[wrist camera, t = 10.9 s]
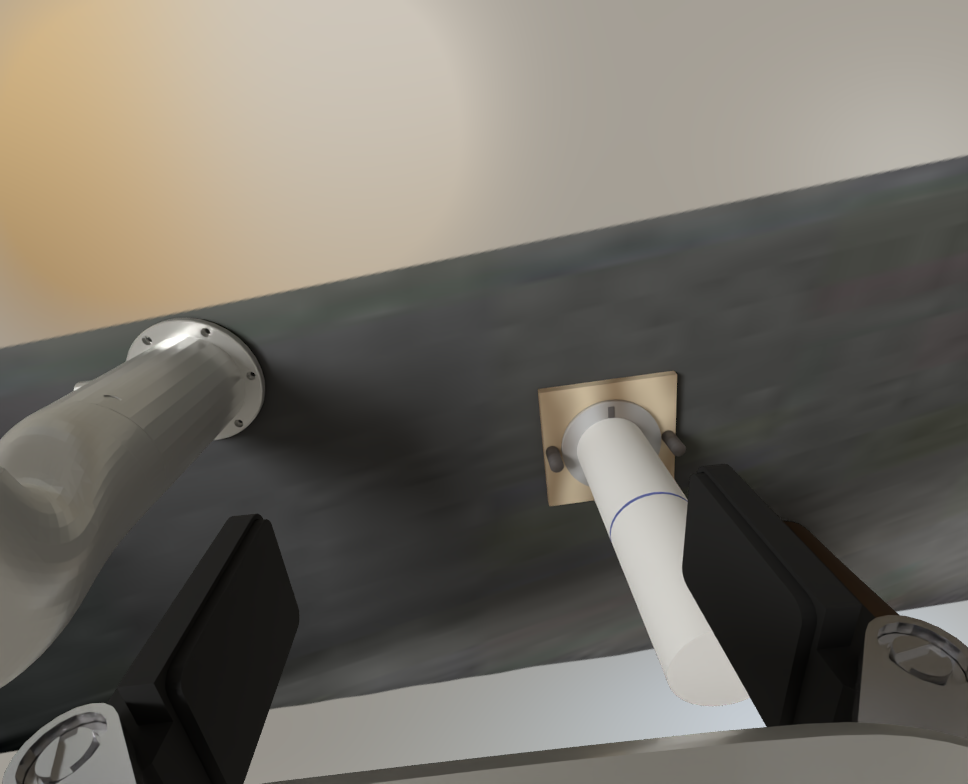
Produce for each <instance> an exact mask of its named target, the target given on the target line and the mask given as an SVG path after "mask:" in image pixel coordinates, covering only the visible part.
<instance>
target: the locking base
mask: <svg viewBox="0 0 968 784" xmlns="http://www.w3.org/2000/svg"><path fill="white" fill-rule="evenodd" d="M538 397H539V408H540V419H541V430H542V440H543V451H544V462H545V472H546V483H547V494H548V502H549V506H556V505H563V504H571V503H578V502H585V501H593V500H595V499H594V497H593V494H592V492H591V489H590V487H589V484H588V482H587V479H586V477H585V474H584V472H583V469H582V467H581V464H580V462H579V459H578V456H577V446H578V443H579V440H580V438H581V436H582V435H583V433H584V432H585V431H586V430H587V429H588V428H589V427H590V426H592V425H593V424H595V423H597V422H599V421H601V420H604V419H608V418H623V419H626V420H629V421H631V422H633V423H634V424H636V425H637V426H638V427H639V428H640V430H641V431H642V433H643V434H644V436H645V437H646V439H647V440H648V441H649V443H650V444H651V446H652V447H653V449H654V450H655V452H656V453H657V455H658V456H659V458H660V459H661V461H662V462H663V464H664V465H665V467H666V468H667V470H668V471H669V473H670V474H671V476H672V477H673V479H674V466H675V456H682V455H683V454H684V453H685V452H686V447H685V445H684V444H683V443H682V442H681V441H680V439H679V438H678V437H677V436H676V435H675V432H676V398H677V374H676V373H675V372H674V371H668V372H660V373H653V374H646V375H638V376H631V377H624V378H616V379H609V380H602V381H594V382H587V383H580V384H572V385H565V386H558V387H550V388H543V389H538Z"/></svg>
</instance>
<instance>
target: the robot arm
mask: <svg viewBox="0 0 968 784" xmlns="http://www.w3.org/2000/svg"><path fill="white" fill-rule="evenodd" d="M207 329H208V330H209V331H210V332H209V331H208V330H207ZM252 372H253V373H254V374H255V375H254V374H253V373H252ZM264 397H265V379H264V376H263V372H262V369H261V367H260V365H259V363H258V361H257V359H256V357H255V355H254V354H253V353H252V351H251V350H250V349H249V347H248V346H247V345H246V344H245V343H244V342H243V341H242V340H241V339H240V338H238V337H237V336H236V335H234V334H233V333H231V332H230V331H229V330H227V329H225V328H223V327H221V326H219V325H217V324H215V323H212V322H208V321H205V320H202V319H195V318H173V319H169V320H165V321H162V322H160V323H158V324H155V325H153V326H151V327H150V328H148V329H147V330H145V331H143V332H142V333H141V334H140V335H139V336H138V337H137V338H136V339H135V340H134V342H133V344H132V346H131V347H130V349H129V352H128V356H127V359H126V362H125V363H123V364H121V365H119V366H118V367H116V368H114V369H112V370H110V371H109V372H107V373H105V374H103V375H101V376H100V377H98V378H96V379H94V380H89V381H82V382H78V383H77V384H76V385H75V387H74V391H73V392H71V393H69V394H68V395H66V396H64V397H62V398H61V399H59V400H57V401H55V402H53V403H52V404H50V405H48V406H46V407H44V408H42V409H40V410H38V411H36V412H35V413H33V414H31V415H29V416H28V417H26V418H25V419H23V420H22V421H20V422H19V423H17V424H16V425H15V426H14V427H13V428H11V429H10V430H9V431H8V432H7V433H6V434H5V435H4V436H3V437H2V438H1V440H0V688H1V687H3V686H4V685H6V684H7V683H9V682H10V681H11V680H13V679H14V678H15V677H17V676H18V675H19V674H21V673H22V672H23V671H24V670H26V669H27V668H28V667H29V666H30V665H31V664H32V663H33V662H34V661H35V660H36V659H38V658H39V657H40V656H41V655H42V654H43V653H44V652H45V650H46V649H47V648H48V647H49V646H50V645H51V644H52V643H53V641H54V640H55V639H56V638H57V637H58V635H59V634H60V633H61V632H62V631H63V629H64V628H65V627H66V625H67V624H68V623H69V621H70V620H71V618H72V617H73V615H74V614H75V612H76V611H77V609H78V608H79V606H80V604H81V603H82V601H83V599H84V598H85V596H86V594H87V592H88V591H89V589H90V587H91V585H92V584H93V582H94V580H95V578H96V577H97V575H98V573H99V572H100V570H101V568H102V567H103V565H104V564H105V562H106V561H107V559H108V558H109V556H110V555H111V554H112V552H113V551H114V549H115V548H116V547H117V545H118V544H119V543H120V542H121V540H122V539H123V538H124V537H125V535H126V534H127V533H128V532H129V531H130V530H131V529H132V527H133V526H134V525H135V524H136V523H137V522H138V521H139V520H140V518H141V517H142V516H143V515H144V514H145V513H146V512H147V511H148V510H149V509H150V508H151V506H152V505H153V504H154V503H155V502H156V501H157V500H158V499H159V498H160V497H161V496H162V495H163V494H164V493H165V492H166V490H167V489H168V488H169V487H170V486H171V485H172V484H173V483H174V482H175V481H176V480H177V479H178V478H179V476H180V475H181V474H182V473H183V472H184V471H185V470H186V469H187V468H188V467H189V466H190V465H191V464H192V462H193V461H194V460H195V459H196V458H197V457H198V456H199V455H200V454H201V453H202V452H203V451H204V449H205V448H206V447H207V446H208V445H209V444H210V443H211V442H212V441H213V440H220V439H224V438H228V437H231V436H233V435H235V434H238V433H239V432H241V431H242V430H244V429H245V428H246V427H248V426H249V425H250V423H251V422H252V421H253V420H254V419H255V418H256V416H257V415H258V413H259V412H260V410H261V407H262V405H263V402H264ZM682 573H683V578H684V581H685V583H686V585H687V587H688V589H689V591H690V592H691V594H692V596H693V598H694V600H695V601H696V603H697V605H698V607H699V608H700V610H701V612H702V614H703V615H704V617H705V619H706V621H707V622H708V624H709V626H710V628H711V630H712V631H713V633H714V635H715V637H716V638H717V640H718V642H719V644H720V645H721V647H722V649H723V651H724V652H725V654H726V656H727V658H728V659H729V661H730V663H731V665H732V667H733V668H734V670H735V672H736V674H737V675H738V677H739V679H740V681H741V682H742V684H743V686H744V688H745V689H746V691H747V693H748V695H749V697H750V698H751V700H752V702H753V704H754V705H755V707H756V709H757V710H758V712H759V714H760V716H761V718H762V719H763V721H764V723H765V725H766V726H767V727H764V728H752V729H741V730H729V731H718V732H709V733H700V734H690V735H682V736H672V737H662V738H653V739H644V740H635V741H625V742H616V743H606V744H597V745H588V746H579V747H570V748H561V749H552V750H544V751H534V752H526V753H517V754H508V755H500V756H490V757H482V758H473V759H465V760H455V761H447V762H438V763H429V764H420V765H412V766H404V767H396V768H387V769H379V770H370V771H362V772H353V773H345V774H337V775H328V776H321V777H312V778H303V779H295V780H287V781H279V782H271V783H264V784H968V647H967V646H966V645H964V644H963V643H962V642H961V641H960V640H958V639H957V638H956V637H954V636H952V635H951V634H949V633H947V632H946V631H944V630H942V629H941V628H939V627H937V626H934V625H932V624H929V623H927V622H925V621H922V620H918V619H915V618H911V617H907V616H899V615H886V616H881V617H877V618H876V617H875V616H874V615H873V614H872V613H871V612H870V611H869V610H868V609H867V608H866V607H865V606H864V605H863V604H862V603H861V602H860V601H859V600H858V599H857V598H856V596H855V595H854V594H853V593H852V592H851V591H850V590H849V589H848V588H847V587H846V586H845V585H844V584H843V583H842V582H841V581H840V580H839V579H838V578H837V577H836V576H835V574H834V573H833V572H832V571H831V570H830V569H829V568H828V567H827V566H826V565H825V564H824V563H823V562H822V561H821V560H820V559H819V558H818V557H817V556H816V555H815V554H814V552H813V551H812V550H811V549H810V548H809V547H808V546H807V545H806V544H805V543H804V542H803V541H802V540H801V539H800V538H799V537H798V536H797V535H796V534H795V533H794V531H793V530H792V529H791V528H790V527H789V526H788V525H786V524H785V523H784V522H783V521H782V520H781V519H780V518H779V517H778V516H777V515H776V514H775V513H774V512H773V511H772V510H771V509H770V508H769V507H768V506H767V505H766V504H765V502H764V501H763V500H762V499H761V498H760V497H759V496H758V495H757V494H756V493H755V492H754V491H753V490H752V489H751V488H750V487H749V486H748V485H747V484H746V482H745V481H744V480H743V479H742V478H741V477H740V476H739V475H738V474H737V473H736V472H735V471H734V470H733V469H732V468H731V467H730V466H729V465H727V464H721V465H711V466H702V467H700V468H699V469H698V471H697V474H692V475H691V477H690V482H689V493H688V504H687V516H686V527H685V538H684V550H683V561H682ZM298 625H299V609H298V606H297V603H296V599H295V596H294V593H293V590H292V587H291V584H290V581H289V577H288V574H287V571H286V568H285V565H284V562H283V559H282V556H281V552H280V549H279V546H278V543H277V540H276V537H275V534H274V531H273V527H272V524H271V522H270V521H269V520H267V519H266V520H263V518H262V517H261V515H259V514H250V515H241V516H232V517H230V518H229V519H228V520H227V521H226V523H225V524H224V526H223V527H222V529H221V530H220V532H219V533H218V535H217V537H216V538H215V540H214V541H213V543H212V544H211V546H210V547H209V549H208V550H207V552H206V553H205V555H204V556H203V558H202V559H201V561H200V562H199V564H198V565H197V567H196V568H195V570H194V571H193V573H192V574H191V576H190V577H189V579H188V580H187V582H186V583H185V585H184V586H183V588H182V589H181V591H180V592H179V594H178V595H177V597H176V598H175V600H174V601H173V603H172V604H171V606H170V608H169V609H168V611H167V612H166V614H165V615H164V617H163V618H162V620H161V621H160V623H159V624H158V626H157V627H156V629H155V630H154V632H153V633H152V635H151V636H150V638H149V639H148V641H147V642H146V644H145V645H144V647H143V648H142V650H141V651H140V653H139V654H138V656H137V657H136V659H135V660H134V662H133V663H132V665H131V666H130V668H129V669H128V671H127V672H126V674H125V675H124V677H123V679H122V680H121V682H120V683H119V685H118V686H117V689H116V690H115V692H114V693H113V695H112V696H111V698H110V699H109V701H108V702H107V704H105V703H91V704H87V705H84V706H81V707H77V708H74V709H72V710H70V711H68V712H66V713H64V714H62V715H60V716H58V717H57V718H55V719H54V720H52V721H51V722H49V723H48V724H47V725H45V726H44V727H42V728H41V729H40V730H39V731H37V732H36V733H35V734H34V735H33V736H32V737H31V738H30V739H29V740H27V741H26V742H25V743H24V745H23V746H22V747H21V748H20V749H19V751H18V752H17V753H16V754H15V756H14V757H13V758H12V760H11V762H10V763H9V765H8V767H7V769H6V771H5V773H4V776H3V781H2V784H243V783H244V780H245V778H246V775H247V772H248V769H249V766H250V763H251V760H252V758H253V755H254V752H255V749H256V746H257V743H258V740H259V737H260V735H261V732H262V729H263V726H264V723H265V720H266V717H267V714H268V712H269V709H270V706H271V703H272V700H273V697H274V694H275V692H276V689H277V686H278V683H279V680H280V677H281V674H282V671H283V669H284V666H285V663H286V660H287V657H288V654H289V651H290V648H291V646H292V643H293V640H294V637H295V634H296V631H297V628H298Z"/></svg>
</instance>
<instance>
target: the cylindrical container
mask: <svg viewBox="0 0 968 784" xmlns="http://www.w3.org/2000/svg"><path fill="white" fill-rule="evenodd" d="M577 456H578V459H579V462H580V464H581V467H582V469H583V472H584V474H585V477H586V479H587V482H588V484H589V487H590V489H591V492H592V494H593V497H594V499H595V502H596V504H597V507H598V509H599V512H600V514H601V517H602V519H603V522H604V524H605V527H606V529H607V532H608V534H609V537H610V539H611V542H612V544H613V547H614V549H615V552H616V554H617V557H618V559H619V562H620V564H621V567H622V569H623V572H624V574H625V577H626V579H627V582H628V584H629V587H630V589H631V592H632V594H633V597H634V599H635V602H636V604H637V607H638V609H639V612H640V614H641V617H642V619H643V622H644V624H645V627H646V629H647V632H648V634H649V637H650V639H651V642H652V644H653V647H654V649H655V652H656V654H657V656H658V659H659V662H660V664H661V667H662V669H663V672H664V674H665V677H666V679H667V682H668V684H669V686H670V689H671V690H672V691H673V693H674V694H675V695H676V696H678V697H679V698H681V699H682V700H684V701H686V702H689V703H691V704H696V705H701V706H723V705H728V704H733V703H737V702H740V701H743V700H746V699H748V698H750V697H749V695H748V693H747V691H746V689H745V688H744V686H743V684H742V682H741V681H740V679H739V677H738V675H737V674H736V672H735V670H734V668H733V667H732V665H731V663H730V661H729V659H728V658H727V656H726V654H725V652H724V651H723V649H722V647H721V645H720V644H719V642H718V640H717V638H716V637H715V635H714V633H713V631H712V630H711V628H710V626H709V624H708V622H707V621H706V619H705V617H704V615H703V614H702V612H701V610H700V608H699V607H698V605H697V603H696V601H695V600H694V598H693V596H692V594H691V592H690V591H689V589H688V587H687V585H686V583H685V581H684V578H683V573H682V561H683V550H684V538H685V527H686V516H687V504H688V499H687V498H686V496H685V495H684V494H683V492H682V491H681V489H680V488H679V486H678V485H677V483H676V482H675V480H674V479H673V477H672V476H671V474H670V473H669V471H668V470H667V468H666V467H665V465H664V464H663V462H662V461H661V459H660V458H659V456H658V455H657V453H656V452H655V450H654V449H653V447H652V446H651V444H650V443H649V441H648V440H647V439H646V437H645V436H644V434H643V433H642V431H641V430H640V428H639V427H638V426H637V425H636V424H634V423H633V422H631V421H629V420H626V419H623V418H608V419H604V420H601V421H599V422H597V423H595V424H593V425H592V426H590V427H589V428H588V429H587V430H586V431H585V432H584V433H583V435H582V436H581V438H580V440H579V443H578V446H577Z"/></svg>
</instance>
